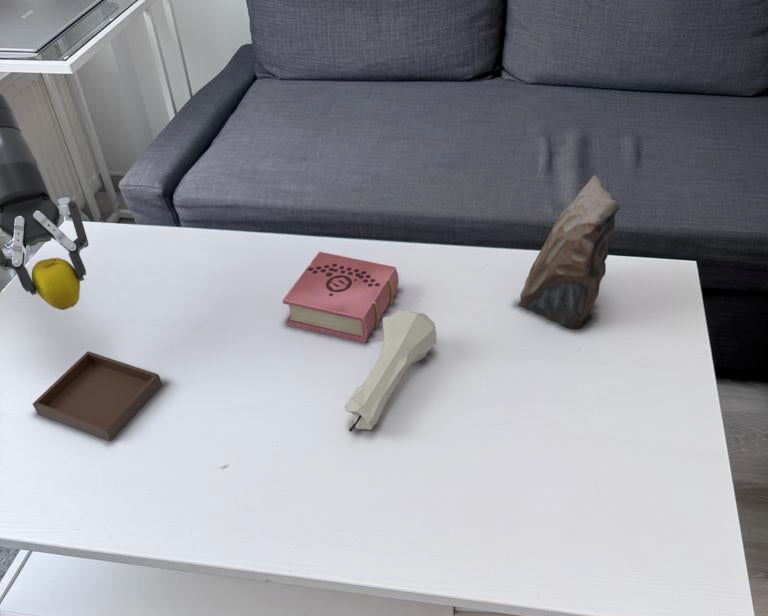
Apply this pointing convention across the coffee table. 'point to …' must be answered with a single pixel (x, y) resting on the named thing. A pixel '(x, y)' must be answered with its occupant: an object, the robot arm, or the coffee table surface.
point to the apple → (56, 282)
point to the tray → (98, 395)
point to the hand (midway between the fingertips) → (58, 286)
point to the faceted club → (391, 364)
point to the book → (341, 296)
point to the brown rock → (573, 259)
